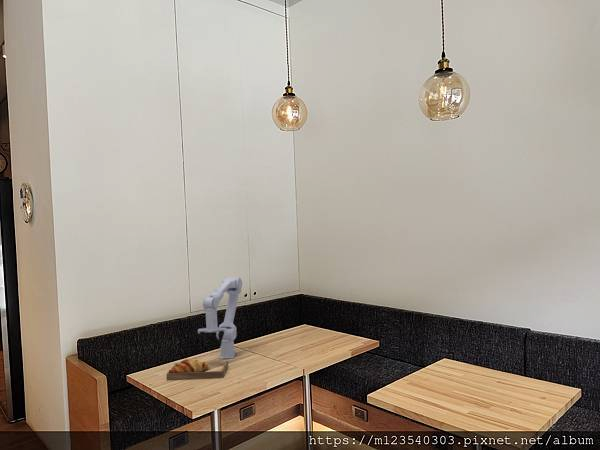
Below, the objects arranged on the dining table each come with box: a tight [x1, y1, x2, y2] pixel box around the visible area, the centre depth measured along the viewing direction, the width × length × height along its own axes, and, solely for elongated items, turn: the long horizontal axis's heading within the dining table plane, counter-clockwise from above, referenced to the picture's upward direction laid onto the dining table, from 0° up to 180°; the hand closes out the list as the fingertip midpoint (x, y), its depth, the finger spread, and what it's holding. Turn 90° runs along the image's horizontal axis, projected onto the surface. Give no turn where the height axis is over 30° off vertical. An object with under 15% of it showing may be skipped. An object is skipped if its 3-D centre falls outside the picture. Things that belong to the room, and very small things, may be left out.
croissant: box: [168, 358, 211, 373], centre depth 220 cm, size 21×10×8 cm, turn 129°
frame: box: [166, 360, 229, 381], centre depth 219 cm, size 16×27×3 cm, turn 90°
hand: (212, 346), depth 231 cm, fingers open, 7 cm apart
